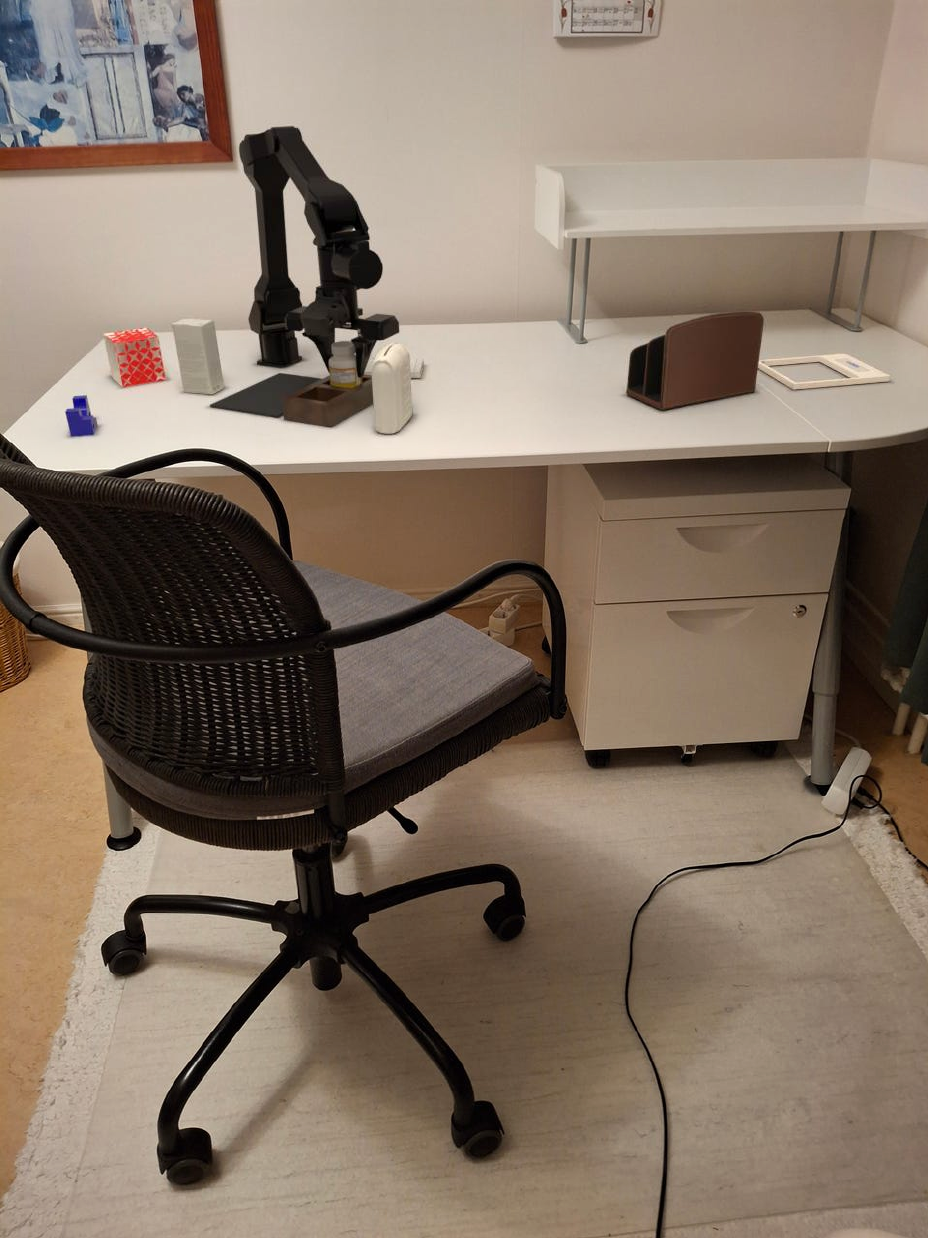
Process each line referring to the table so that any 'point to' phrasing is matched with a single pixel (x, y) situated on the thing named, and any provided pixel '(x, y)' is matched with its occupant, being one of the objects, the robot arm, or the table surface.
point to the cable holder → (81, 418)
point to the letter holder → (698, 361)
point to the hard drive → (415, 367)
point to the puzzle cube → (135, 357)
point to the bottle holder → (327, 402)
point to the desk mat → (265, 395)
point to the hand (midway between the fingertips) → (345, 374)
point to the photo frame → (839, 362)
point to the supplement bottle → (343, 365)
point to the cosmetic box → (198, 356)
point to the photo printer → (391, 388)
